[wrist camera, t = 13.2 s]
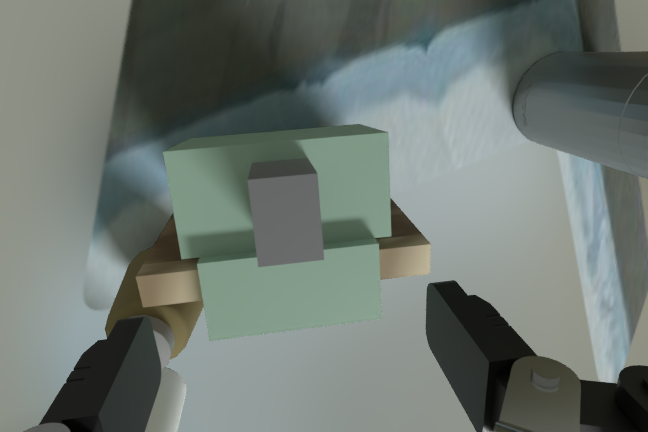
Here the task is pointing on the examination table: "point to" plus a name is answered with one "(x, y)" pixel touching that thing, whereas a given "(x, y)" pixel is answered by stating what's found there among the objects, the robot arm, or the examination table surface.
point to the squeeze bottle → (155, 314)
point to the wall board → (182, 274)
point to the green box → (283, 225)
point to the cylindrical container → (167, 403)
